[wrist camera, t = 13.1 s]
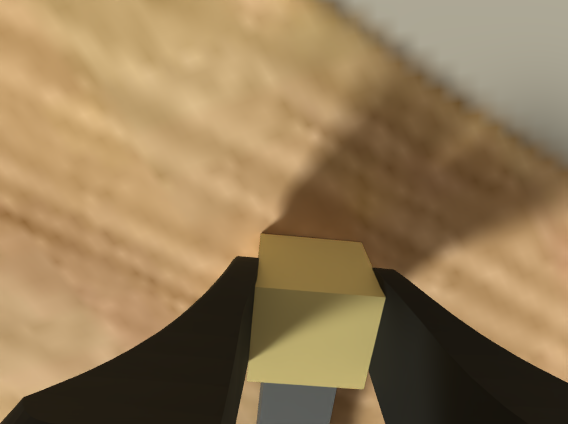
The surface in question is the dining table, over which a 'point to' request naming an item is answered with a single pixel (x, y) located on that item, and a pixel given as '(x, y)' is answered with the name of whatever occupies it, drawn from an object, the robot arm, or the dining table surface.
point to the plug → (311, 325)
